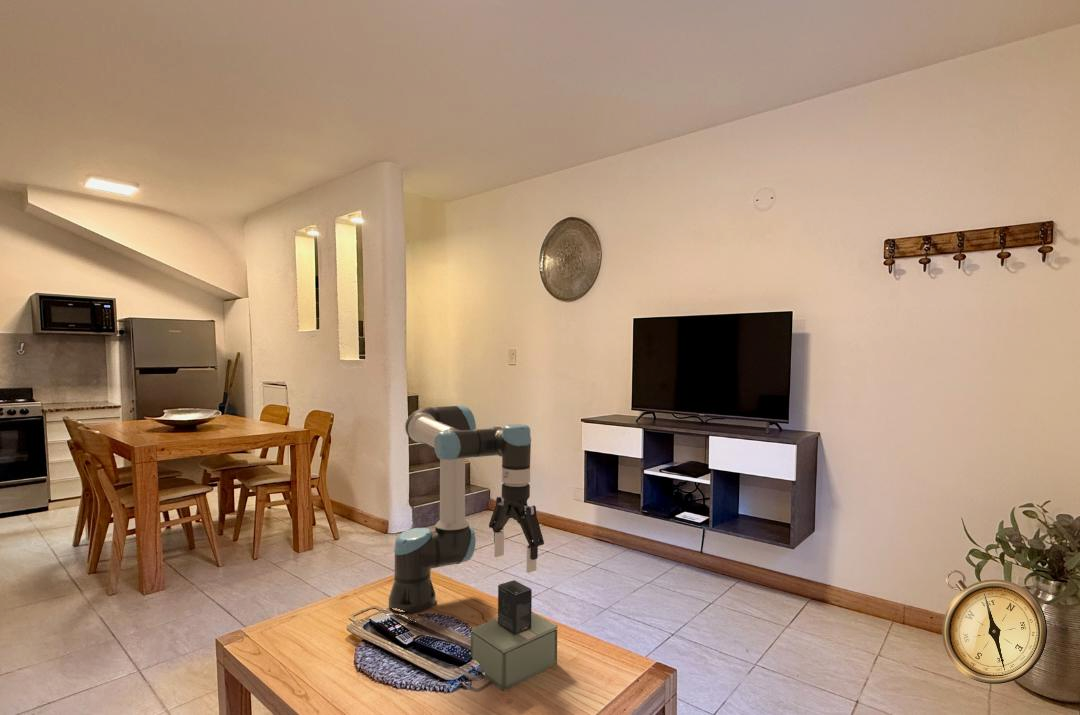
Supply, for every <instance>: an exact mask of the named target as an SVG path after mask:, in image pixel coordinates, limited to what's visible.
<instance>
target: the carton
mask: <svg viewBox="0 0 1080 715" xmlns="http://www.w3.org/2000/svg"><path fill="white" fill-rule="evenodd" d="M471 657H472V658H473V659H474V660H476V661H477V662H478V663H479V664H480V666H481V667H482V668H483V670H484V672H485V676H484V678H486V680H488V681H490V682H491V683H492V684H494V685H495V686H496V687H498V689H500V690H501V691H503V692H504V691H507V690H508V689H510V688H512V687H514V686H516V685H518V684H520V683H522V682H523V681H526V680H527V679H529V678H531V677H533V676H535V675H537V674H539V673H541V672H543V671H545V670H546V669H549V668H551V667H552V666H554V665H557V664H558V629H556V630H554V631H552V632H550V633H547V634H545V635H543V636H541V637H539V638H536V639H534V640H532V641H530V642H528V643H525V644H523V645H521V646H519V647H517V648H514V649H512V650H510V651H508V652H506V653H503V652H502V651H500V650H499V649H497V648H496V647H494V646H493V645H491V644H490V643H488V642H487V641H485V640H484V639H483V638H481V637H480V636H478V635H477V634H475V633H474V632H472V631H471V632H470V658H471Z"/></svg>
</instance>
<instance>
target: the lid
mask: <svg viewBox="0 0 1080 715" xmlns="http://www.w3.org/2000/svg"><path fill="white" fill-rule="evenodd" d="M554 630H558V625H557V624H555V623H553V622H552V621H549V620H547V618H544V617H543V616H541V615H539V614H537V613H535V612H534V611H531V629H530V630H527V631H525V632H522V633H519V634H517V635H514V634H512V633H511V632H509V631H508V630H506V629H505V628H503V627H502V626H500V625H499V624H498V617H496V618H494V619H492V620H489V621H487V622H484V623H481V624H479V625H477V626H473V627H472V628H471V632H474V633H475V634H477V635H478V636H480V637H481V638H483V639H484V640H485V641H487V642H488V643H490V644H491V645H493V646H494V647H496V648H497V649H499V650H500V651H502V652H503V653H506V652H508V651H510V650H512V649H514V648H517V647H519V646H521V645H523V644H525V643H528V642H530V641H532V640H534V639H536V638H539V637H541V636H543V635H545V634H547V633H550V632H552V631H554Z"/></svg>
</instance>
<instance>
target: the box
mask: <svg viewBox="0 0 1080 715" xmlns="http://www.w3.org/2000/svg"><path fill="white" fill-rule="evenodd" d="M497 589H498V590H497V618H498V624H499V625H500V626H502V627H503V628H505V629H506V630H508V631H509V632H511V633H512V634H514V635H517V634H519V633H522V632H525V631H527V630H530V629H531V612H532V605H533V604H532V602H533V601H532V598H533V597H532V596H533V595H532V593H533V592H532V588H530V587H528V586H526V585H524V584H523V583H521V582H519V581H516V580H515V579H514V580H510V581H507V582H504V583H500V584H498V585H497Z"/></svg>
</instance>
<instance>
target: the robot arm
mask: <svg viewBox="0 0 1080 715" xmlns="http://www.w3.org/2000/svg"><path fill="white" fill-rule="evenodd" d="M476 423H477V422H476V420H475V416H474V414H473V412H472V409H470V408H469V407H468V406H465V405H463V406H462V405H447V406H427V407H421V408H418V409H417V410H414V411H413V412H412V413H411V414H410V415H409V416H408V418H407V419H406V421H405V425H404V427H405V428H404V430H405V433H406V435H407V436H408V438H410V439H411V440H412V441H414V442H415V443H419V444H427V445H428V446H430V447H432V448H434V453H435V455H436V458H437V459H439V520H438V521H437V522H436V523H435V525H434V528H435V530H434V531H431V529H430V528H428V527H415V528H411V529H410V528H409V529H407V530H405V531H402V532H401V533H400V534H399V535H397V537H396V538H395V543H394V549H393V550H394V551H393V553H394V581H393V583H392V587H391V591H390V594H389V597H388V607H389V609H390V608H397V609H400V610H403V611H405V612H408V613H407V614H412V613H413V614H414V613H419V612H423V611H426V610H428V609H431V607H433V606H434V605H435V604H436V592H435V588H434V584H433V581H432V578H431V570H432V569H436V568H443V567H446V566H452V565H459V564H461V563H466V562H469V560H471V559H472V557H473V555H474V554H475V551H476V550H475V549H476V545H477V544H476V543H477V539H476V534H475V529H474V528H473V527H472V526H470V522H469V521H468V520H467V519H466V459H467V458H468V459H469V458H470V459H471V458H479V457H480V458H481V457H492V456H499V457H501V463H502V464H501V482H502V484H501V495H500V496H497V497H496V498H495V506H494V509H493V512H492V515H491V517H490V521H489V523H488V527H489V529H492V532H493V543H494V552H493V553H494V555H493V556H494V558H499V557H502V556H504V555H505V531H504V530H505V529H504V527H505V526H506V525H507V523H508V522H509V520H510V519H512V520H515V521H516V522H517V524H519V525H520V528H521V530H522V532H523V535H524V537H525V540H526V541H527V543H528V545H527V546H526V573H527V574H528V573H532V572H535V571H537V559H538V558H539V556H538V555H539V551H538V550H539V547H540V546H543V545H544V544H545V540H544V537H543V533H542V530H541V527H540V522H539V519H538V515H537V507H536V505H532V506H531V505H528V500H529V499H530V497H531V493H530V491H531V486H530V485H531V484H530V482H531V450H532V449H531V446H532V445H531V443H532V438H531V437H532V436H531V428H530V426H529V425H526V424H520V423H514V424H513V423H511V424H504V426H503V427H501V426H490V427H488V428H479V429H477V426H476V425H477V424H476Z"/></svg>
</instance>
